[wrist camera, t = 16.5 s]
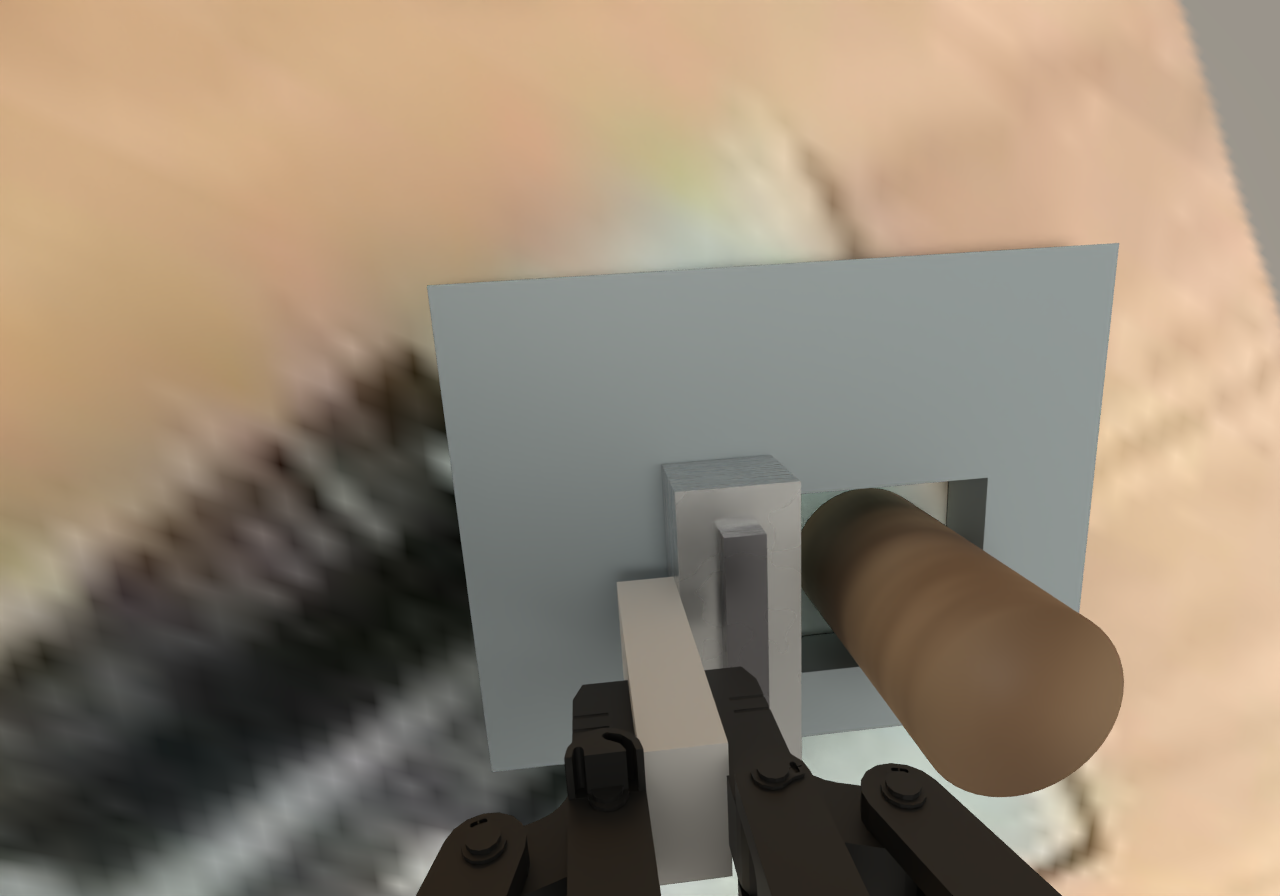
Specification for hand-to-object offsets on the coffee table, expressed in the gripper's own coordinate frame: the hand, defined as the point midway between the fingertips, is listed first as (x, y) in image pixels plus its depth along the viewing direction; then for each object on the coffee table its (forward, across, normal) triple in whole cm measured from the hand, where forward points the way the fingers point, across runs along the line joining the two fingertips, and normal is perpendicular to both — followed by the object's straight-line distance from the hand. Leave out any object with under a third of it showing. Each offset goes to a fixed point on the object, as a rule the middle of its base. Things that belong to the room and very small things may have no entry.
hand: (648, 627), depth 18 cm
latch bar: (+1, +2, 0) cm, 3 cm away
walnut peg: (+3, +7, 0) cm, 8 cm away
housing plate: (+3, +4, +2) cm, 6 cm away
